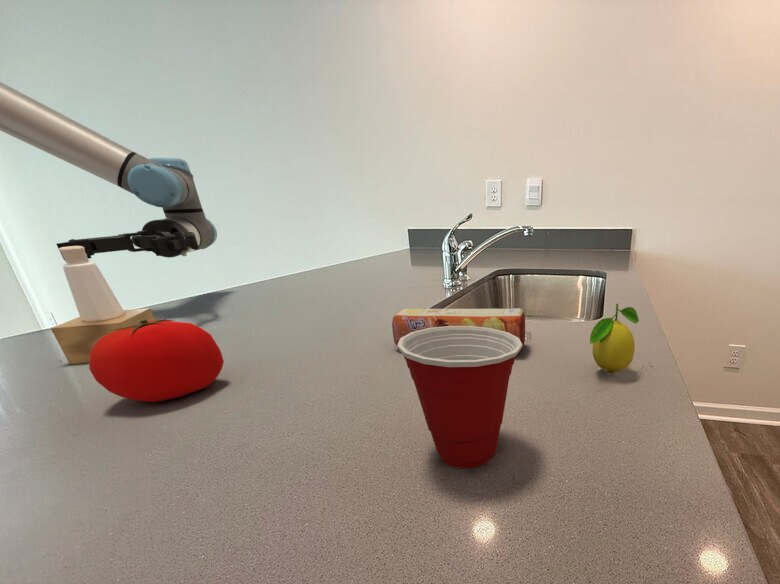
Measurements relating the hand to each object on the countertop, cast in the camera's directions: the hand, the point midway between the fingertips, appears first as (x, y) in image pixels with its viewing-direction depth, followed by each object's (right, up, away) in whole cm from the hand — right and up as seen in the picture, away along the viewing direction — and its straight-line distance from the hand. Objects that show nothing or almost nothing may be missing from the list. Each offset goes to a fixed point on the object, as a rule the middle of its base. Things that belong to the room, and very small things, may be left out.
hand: (110, 249), depth 70 cm
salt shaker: (+2, -12, -3) cm, 13 cm away
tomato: (+24, -24, -16) cm, 38 cm away
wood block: (+3, -18, -1) cm, 18 cm away
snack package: (+61, -17, -3) cm, 63 cm away
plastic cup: (+65, -30, -29) cm, 77 cm away
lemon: (+83, -22, -13) cm, 87 cm away
